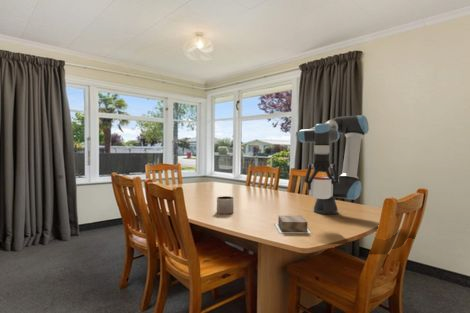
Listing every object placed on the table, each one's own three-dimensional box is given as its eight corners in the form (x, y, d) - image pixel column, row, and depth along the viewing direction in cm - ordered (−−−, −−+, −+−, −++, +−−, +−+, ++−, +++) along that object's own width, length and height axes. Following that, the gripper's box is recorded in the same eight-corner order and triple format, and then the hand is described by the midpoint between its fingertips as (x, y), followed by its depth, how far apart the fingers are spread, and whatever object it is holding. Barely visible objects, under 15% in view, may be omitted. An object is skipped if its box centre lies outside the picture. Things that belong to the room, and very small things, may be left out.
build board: (303, 226, 146) (303, 223, 146) (312, 236, 130) (312, 233, 130) (273, 226, 146) (274, 223, 146) (278, 236, 130) (278, 233, 130)
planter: (213, 213, 173) (213, 198, 173) (221, 209, 183) (221, 195, 183) (229, 215, 169) (229, 199, 168) (236, 211, 179) (236, 196, 179)
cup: (308, 195, 148) (308, 177, 148) (326, 195, 149) (326, 177, 149) (315, 199, 138) (315, 180, 138) (334, 199, 139) (334, 179, 139)
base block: (301, 225, 144) (301, 215, 144) (307, 232, 132) (307, 222, 132) (278, 224, 144) (278, 215, 144) (282, 232, 132) (282, 221, 132)
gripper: (340, 153, 146) (339, 194, 148) (298, 153, 146) (297, 194, 147) (346, 154, 139) (345, 197, 140) (301, 153, 139) (301, 197, 140)
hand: (320, 196), depth 144 cm, fingers closed on cup, 10 cm apart
